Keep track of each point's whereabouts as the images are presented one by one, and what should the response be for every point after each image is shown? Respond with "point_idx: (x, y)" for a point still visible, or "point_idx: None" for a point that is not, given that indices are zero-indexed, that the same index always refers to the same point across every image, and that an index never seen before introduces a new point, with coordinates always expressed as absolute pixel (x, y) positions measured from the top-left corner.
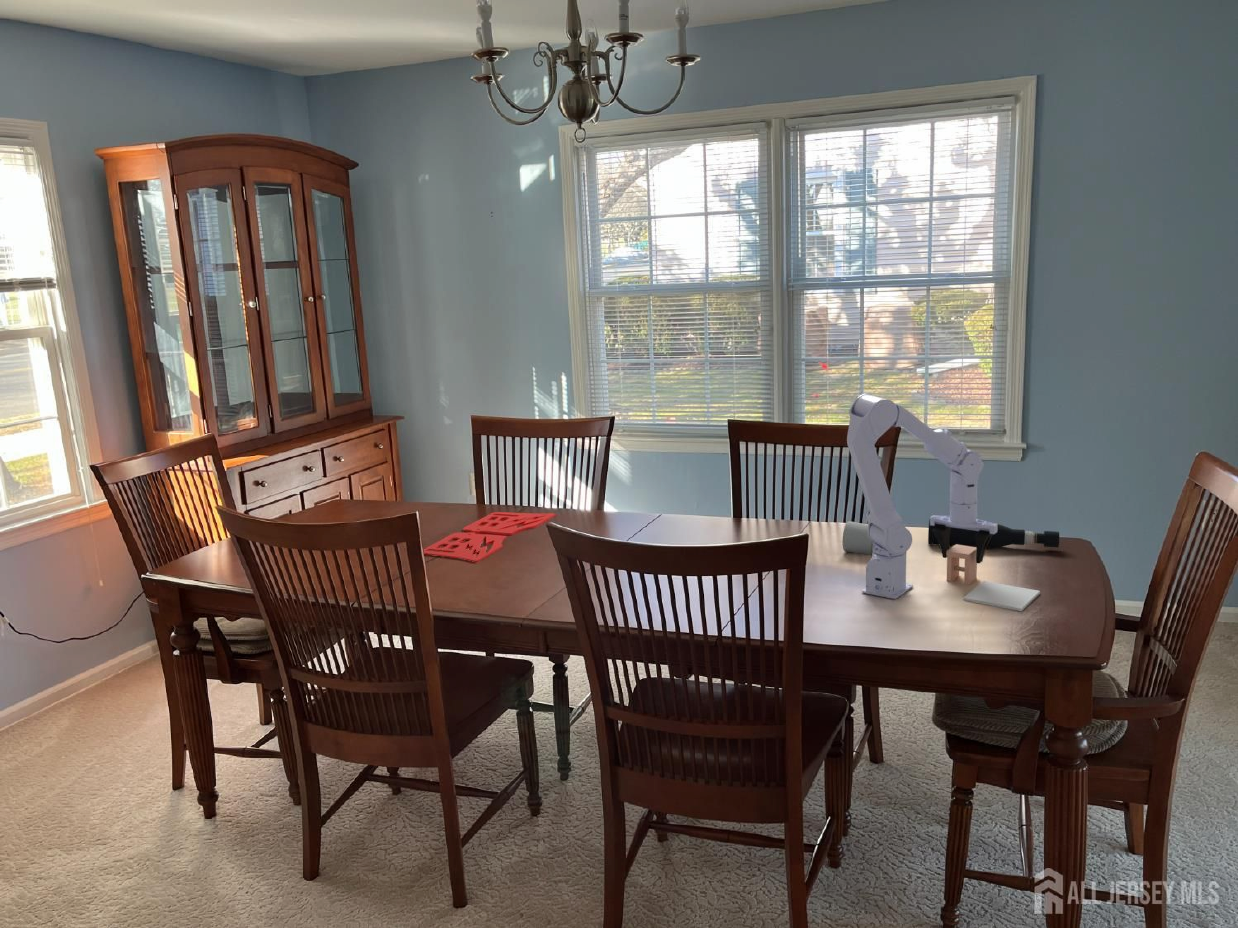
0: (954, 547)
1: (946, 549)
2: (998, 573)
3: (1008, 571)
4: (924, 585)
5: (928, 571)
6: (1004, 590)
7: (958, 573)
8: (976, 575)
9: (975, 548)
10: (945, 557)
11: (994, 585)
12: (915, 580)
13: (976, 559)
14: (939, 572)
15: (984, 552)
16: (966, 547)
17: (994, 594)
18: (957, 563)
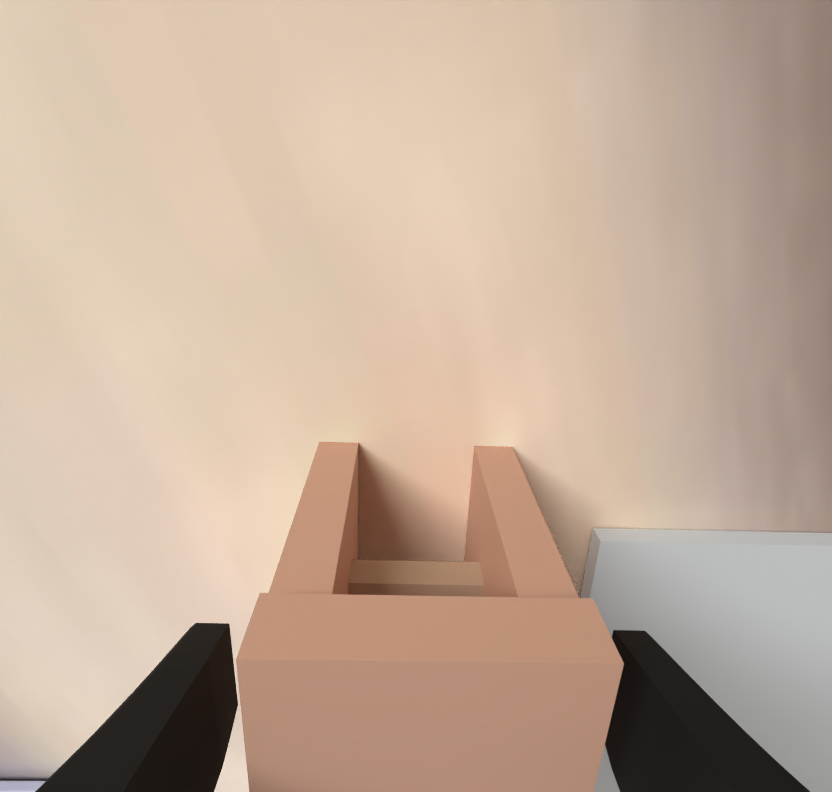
0: (289, 787)
1: (195, 775)
2: (670, 224)
3: (760, 105)
4: (235, 726)
5: (95, 472)
6: (771, 644)
7: (357, 466)
8: (517, 459)
9: (594, 709)
10: (235, 710)
11: (694, 594)
12: (132, 678)
13: (616, 763)
14: (186, 453)
15: (729, 723)
16: (451, 725)
17: None
18: (346, 556)
